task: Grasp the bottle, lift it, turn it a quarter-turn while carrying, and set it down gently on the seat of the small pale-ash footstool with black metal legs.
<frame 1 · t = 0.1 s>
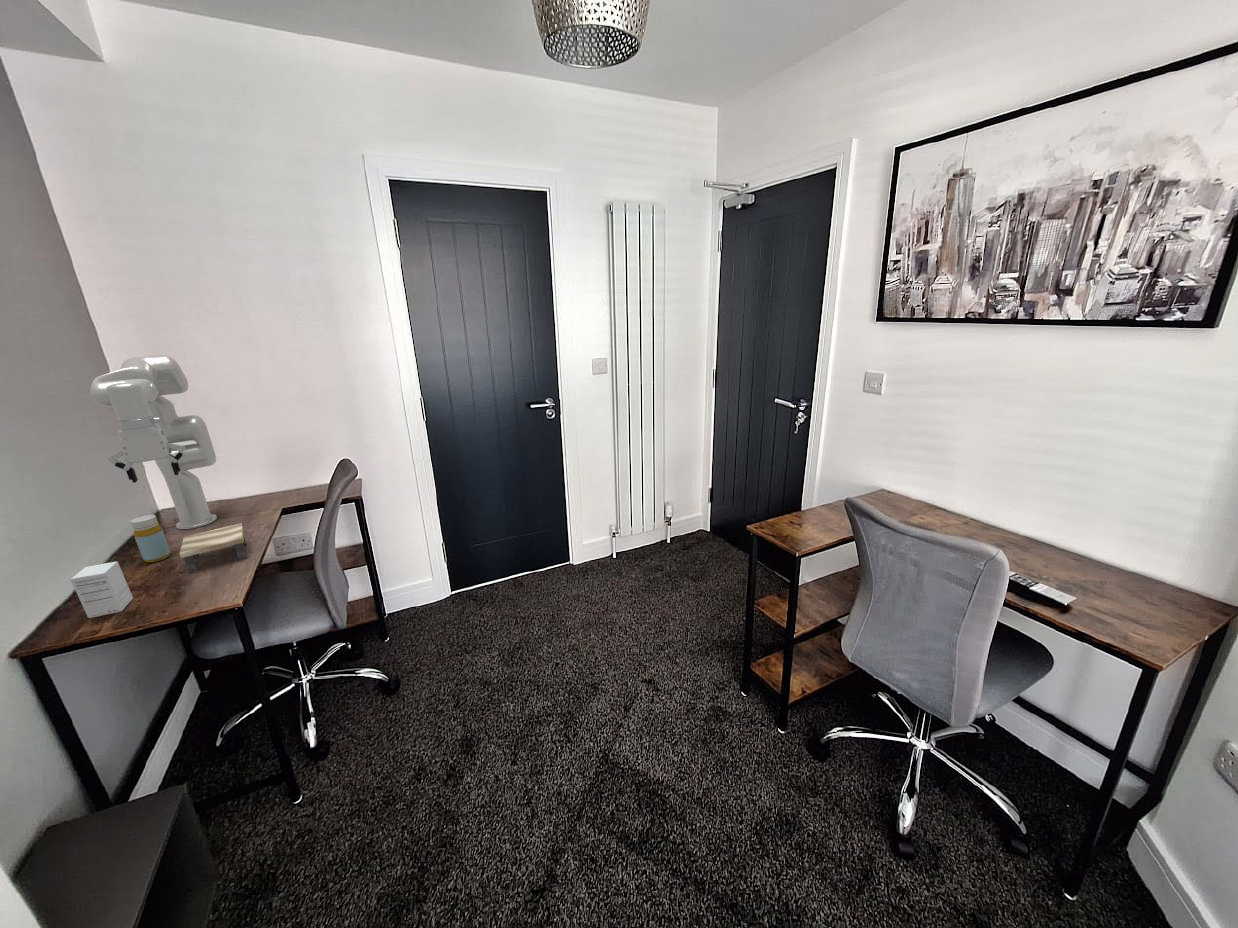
hand: (156, 477, 150), 31 cm above the table, fingers open, 9 cm apart
bottle: (158, 558, 167), on the table
footstool: (219, 557, 165), on the table
supplement box: (111, 608, 138), on the table
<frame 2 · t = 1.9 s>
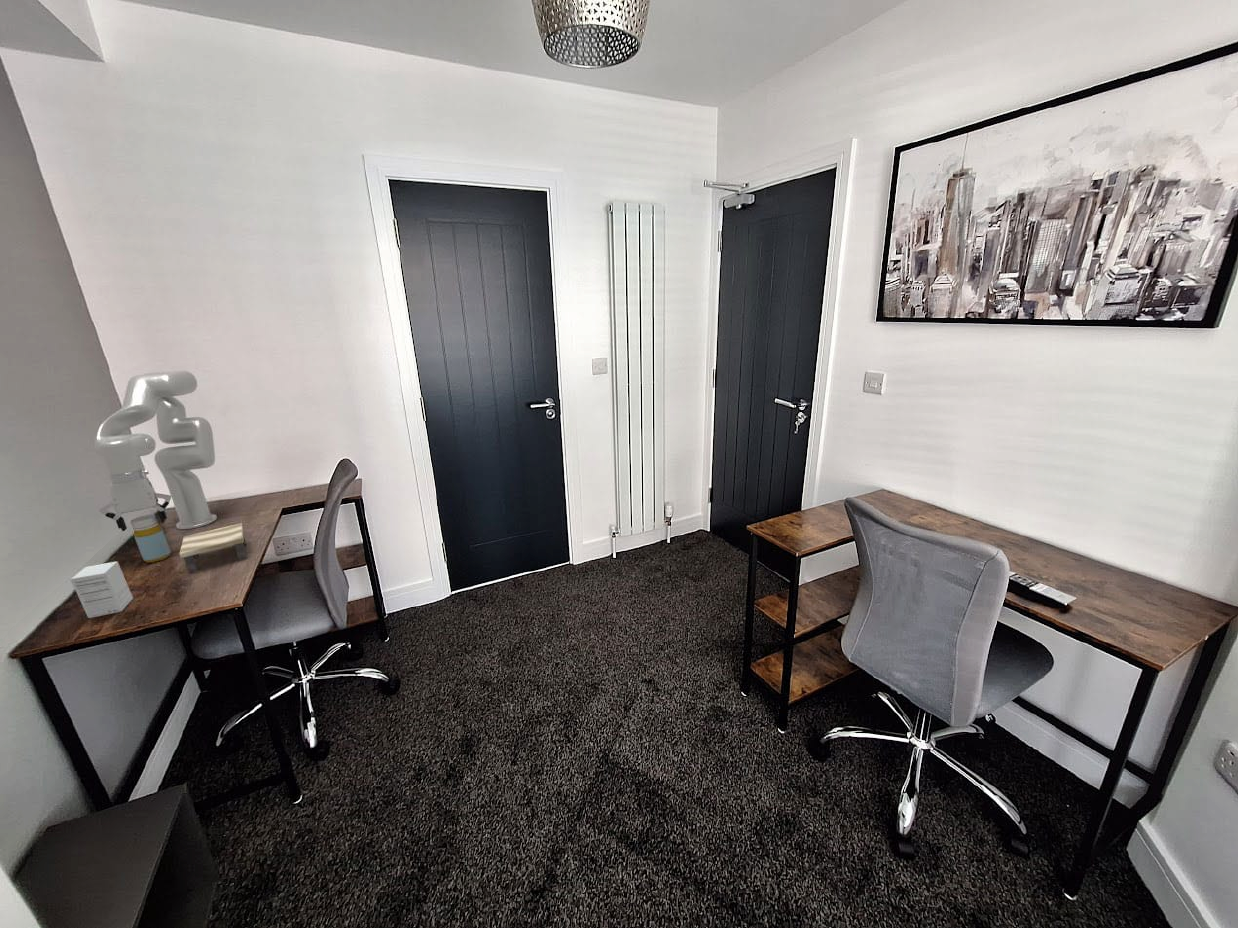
hand: (144, 525, 162), 13 cm above the table, fingers open, 9 cm apart
nothing on the table moved.
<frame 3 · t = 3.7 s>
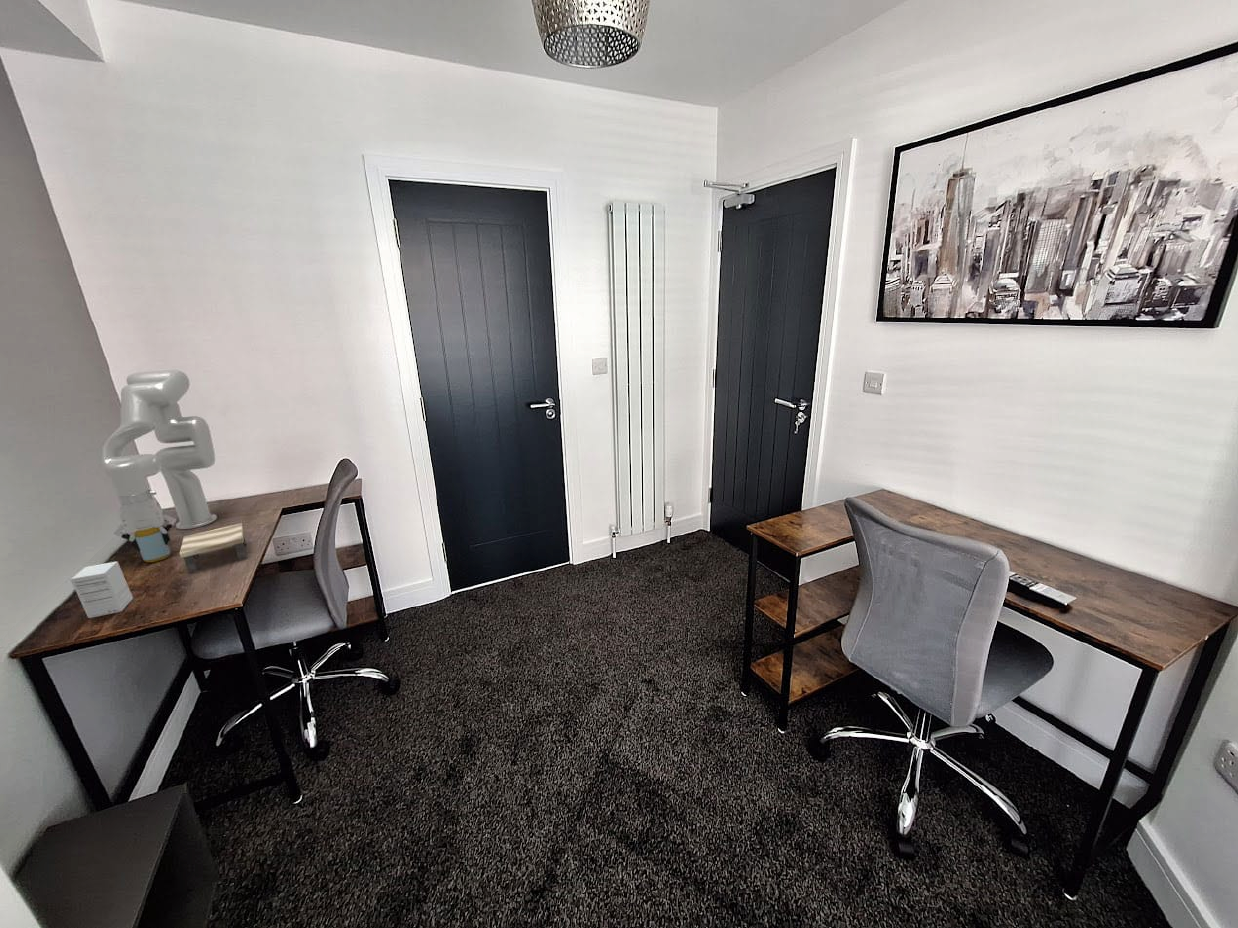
hand: (153, 546, 165), 5 cm above the table, fingers closed on bottle, 6 cm apart
bottle: (158, 558, 167), on the table, touching gripper
everything else where it was.
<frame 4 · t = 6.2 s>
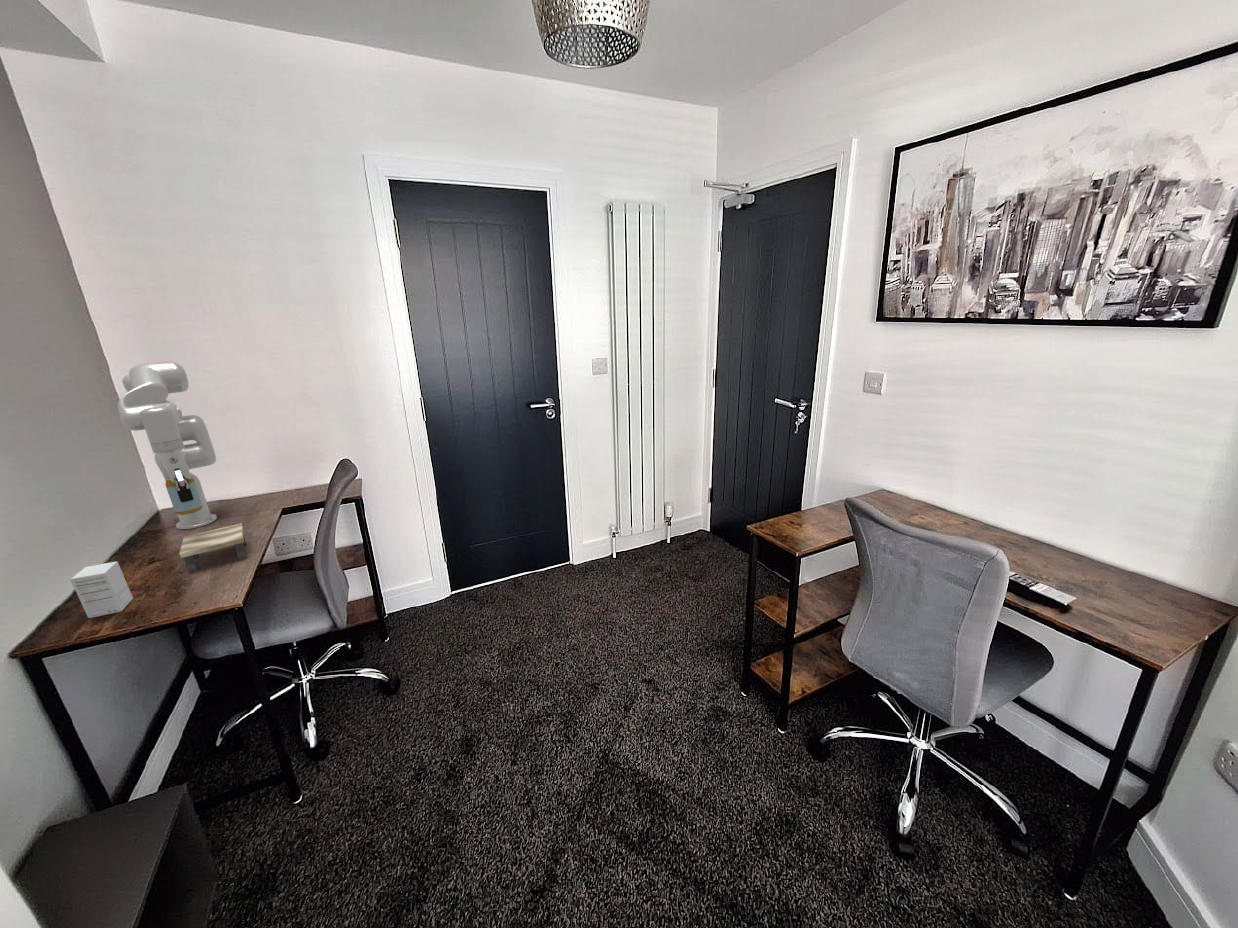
hand: (185, 498, 159), 22 cm above the table, fingers closed on bottle, 6 cm apart
bottle: (189, 511, 160), point 17 cm above the table, touching gripper
everything else where it was.
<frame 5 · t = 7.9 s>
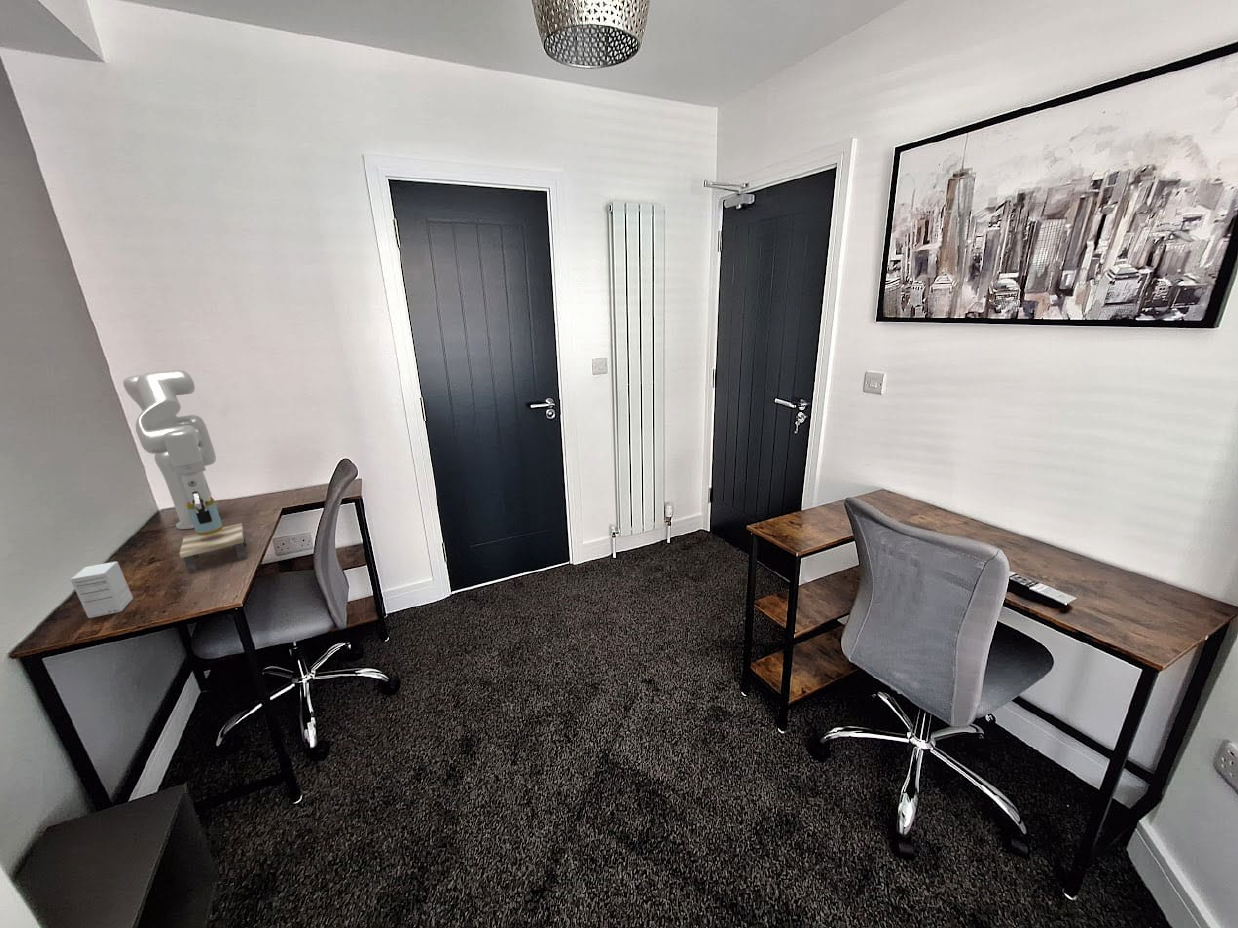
hand: (206, 518, 161), 14 cm above the table, fingers closed on bottle, 6 cm apart
bottle: (210, 532, 162), point 10 cm above the table, touching gripper
everything else where it was.
when the fingers open (13 cm above the table, at t = 9.1 s): bottle drops 1 cm, resting on footstool.
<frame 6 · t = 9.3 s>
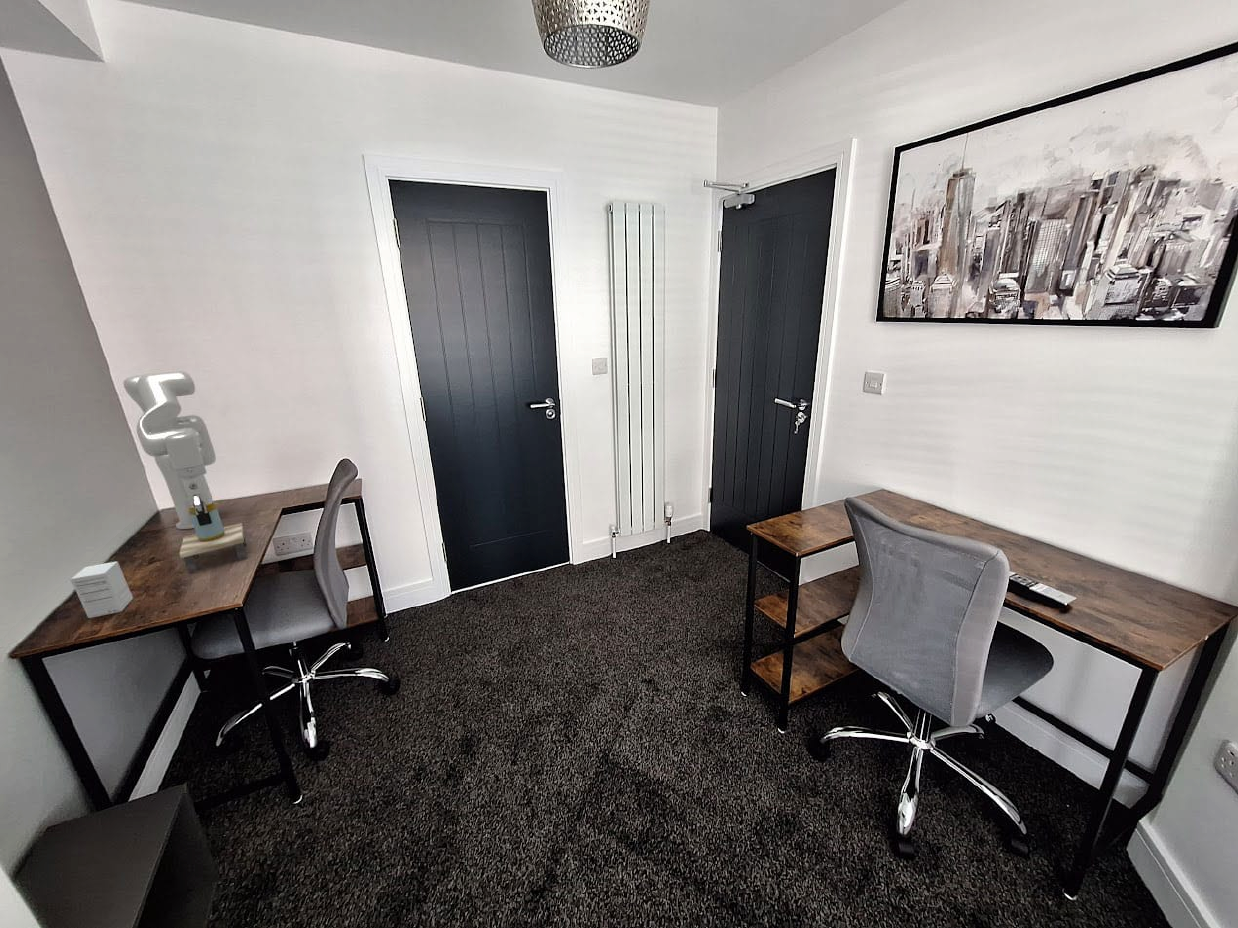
hand: (206, 519, 161), 14 cm above the table, fingers open, 9 cm apart
bottle: (212, 537, 163), point 7 cm above the table, touching footstool
everything else where it was.
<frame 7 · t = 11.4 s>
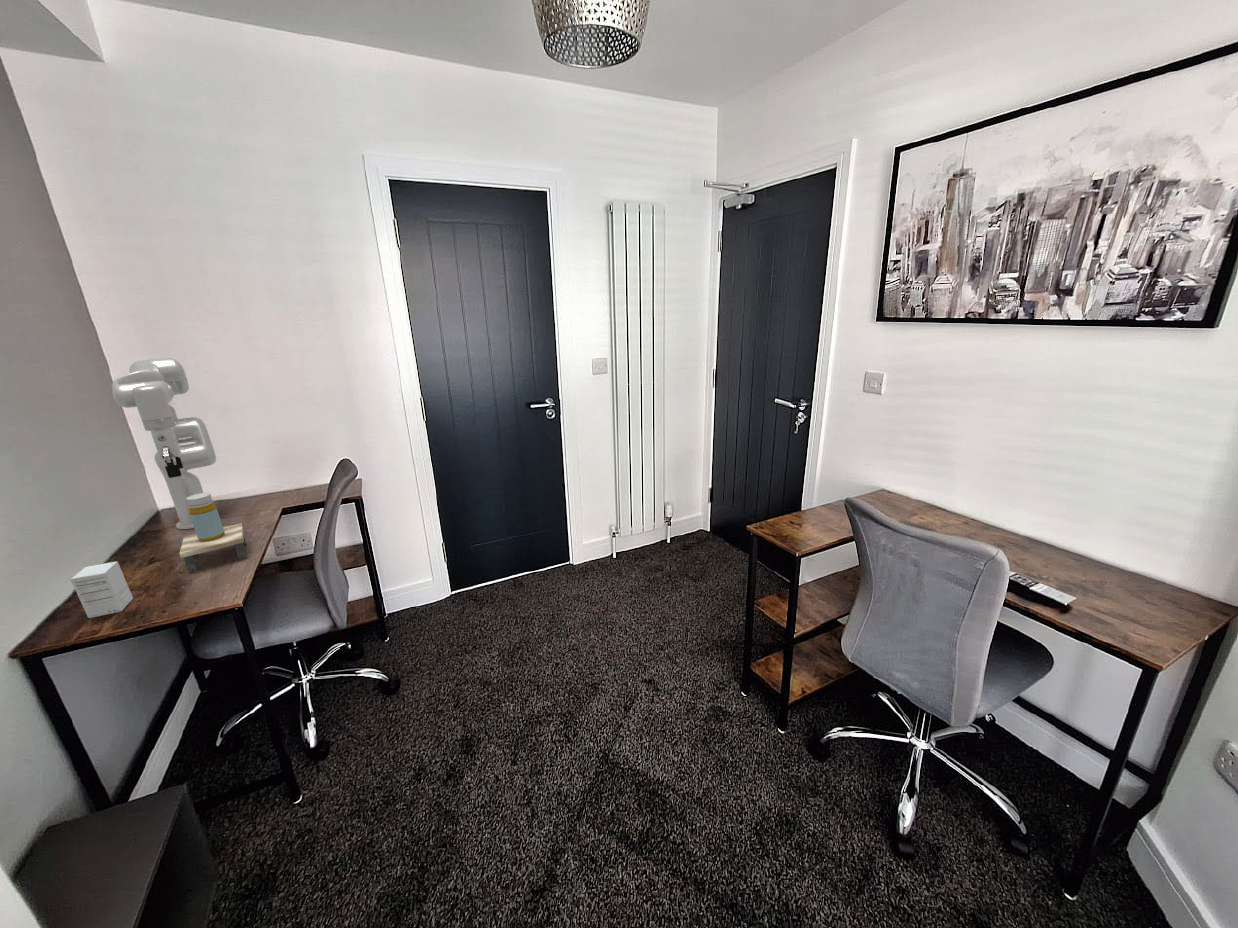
hand: (176, 472, 163), 29 cm above the table, fingers open, 9 cm apart
nothing on the table moved.
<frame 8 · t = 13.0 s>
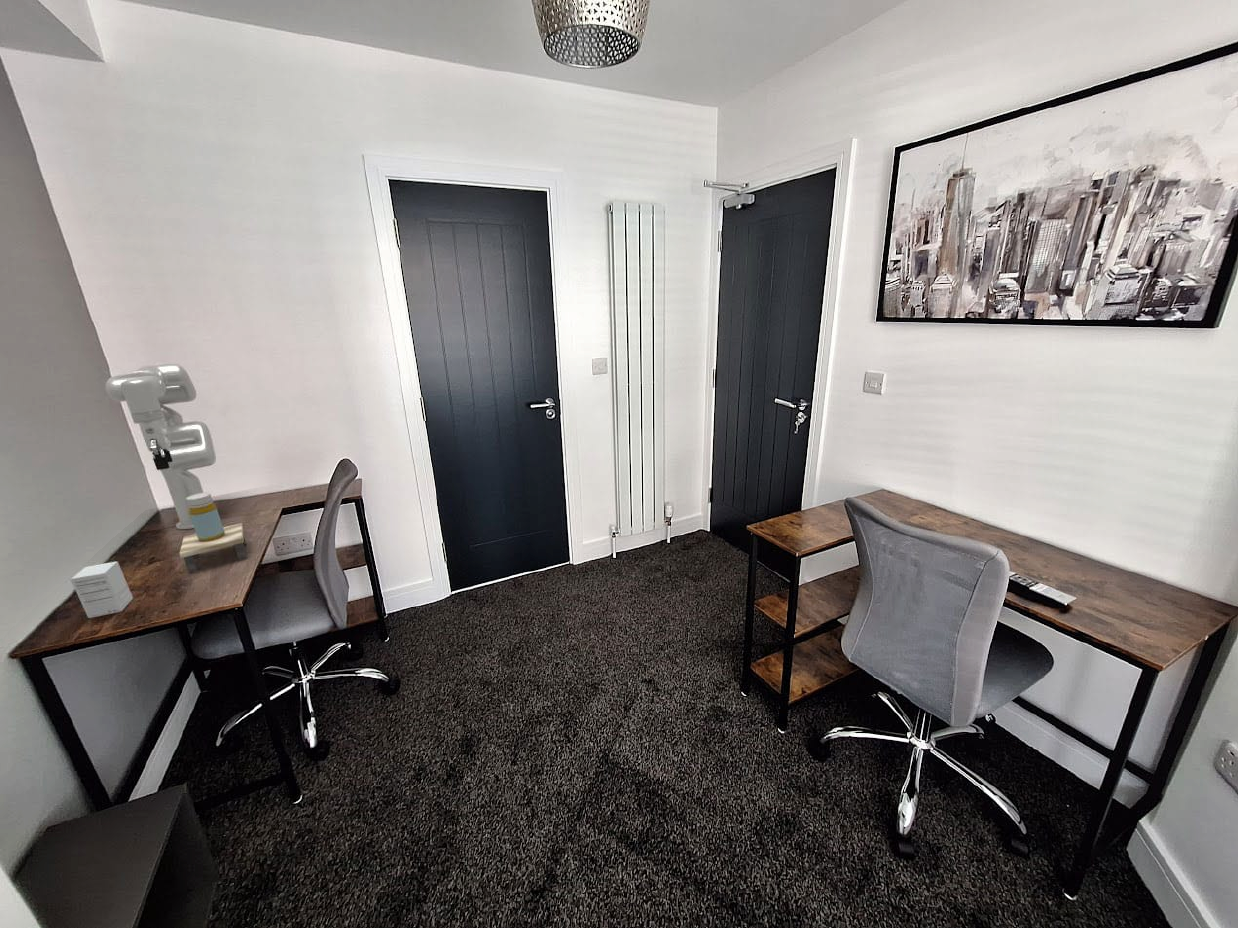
hand: (165, 465, 166), 30 cm above the table, fingers open, 9 cm apart
nothing on the table moved.
at the end: bottle inside the target area on the footstool (0.4 cm from its centre), point 7.3 cm above the footstool's base; bottle touching footstool; bottle tilted 0° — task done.
